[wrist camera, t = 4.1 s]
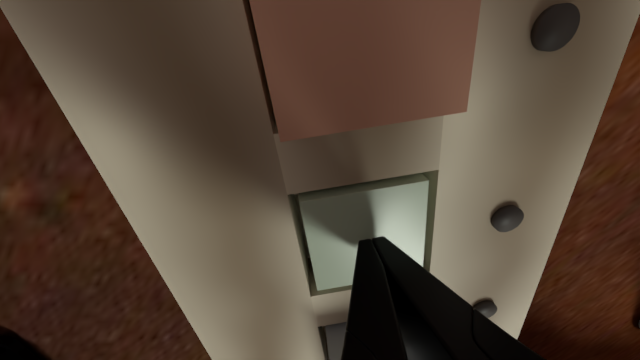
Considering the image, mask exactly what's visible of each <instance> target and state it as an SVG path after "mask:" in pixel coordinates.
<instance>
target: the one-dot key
mask: <svg viewBox="0 0 640 360" xmlns="http://www.w3.org/2000/svg"><path fill="white" fill-rule="evenodd" d="M428 188H429V180H428V179H427V178H426V177H425V176H424V175H423V174H422V173H416V174H410V175H404V176H398V177H392V178H386V179H380V180H374V181H368V182H362V183H356V184H350V185H344V186H338V187H332V188H326V189H320V190H314V191H308V192H302V193H299V205H300V210H301V214H302V219H303V224H304V229H305V234H306V238H307V243H308V248H309V253H310V258H311V262H312V267H313V272H314V277H315V282H316V286H317V291H319V290H325V289H331V288H337V287H342V286H348V285H352V282H353V275H354V269H355V262H356V255H357V248H358V242H359V240H363V239H371V240H372V238H375V237H381V236H384V237H386V238H387V239H388V240H389V241H391V242H392V243H393V244H394V245H396V246H397V247H398V248H399V249H401V250H402V251H403V252H405V253H406V254H407V255H408V256H410V257H411V258H412V259H413V260H415V261H416V262H417V263H418V264H420V265H421V266H422V267H423V260H424V245H425V231H426V216H427V202H428Z"/></svg>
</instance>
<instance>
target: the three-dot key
mask: <svg viewBox="0 0 640 360" xmlns="http://www.w3.org/2000/svg"><path fill="white" fill-rule="evenodd" d="M346 324H347V322H343V323H337V324H331V325H326V326H325V329H326V337H327V345H328V354H329V360H341V355H342V349H343V344H344V337H345V332H346Z"/></svg>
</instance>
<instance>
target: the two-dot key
mask: <svg viewBox="0 0 640 360" xmlns="http://www.w3.org/2000/svg"><path fill="white" fill-rule="evenodd" d="M249 1H250V6H251V10H252V15H253V19H254V24H255V29H256V33H257V38H258V42H259V47H260V51H261V56H262V60H263V65H264V69H265V74H266V79H267V83H268V88H269V92H270V97H271V101H272V106H273V110H274V115H275V120H276V124H277V129H278V133H279V138H280V142H285V141H291V140H297V139H303V138H309V137H316V136H322V135H328V134H334V133H340V132H346V131H352V130H359V129H365V128H371V127H377V126H383V125H389V124H395V123H401V122H408V121H414V120H420V119H426V118H432V117H438V116H444V115H450V114H457V113H463V112H467V107H468V99H469V91H470V83H471V76H472V68H473V60H474V52H475V45H476V37H477V29H478V21H479V14H480V6H481V0H249Z"/></svg>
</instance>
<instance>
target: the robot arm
mask: <svg viewBox="0 0 640 360" xmlns="http://www.w3.org/2000/svg"><path fill="white" fill-rule="evenodd" d="M0 360H40V359H39V358H37V357H36V356H35V355H34V354H33V353H32V352H30V351H29V350H28V349H27V348H26V347H25V346H23V345H22V344H21V343H20V342H19V341H18V340H16V339H15V338H12V337H9V336H0ZM341 360H546V359H544V358H543V357H541V356H540V355H538V354H537V353H535V352H534V351H533V350H531V349H530V348H528V347H527V346H525V345H524V344H522V343H521V342H520V341H518V340H517V339H515V338H514V337H512V336H511V335H510V334H508V333H507V332H505V331H504V330H503V329H501V328H500V327H499V326H498V325H496V324H495V323H494V322H492V321H491V320H490V319H488V318H487V317H486V316H484V315H483V314H482V313H481V312H479V311H478V310H477V309H475V308H474V309H473V306H472V305H470V304H469V303H468V302H467V301H465V300H464V299H463V298H462V297H460V296H459V295H458V294H456V293H455V292H454V291H453V290H451V289H450V288H449V287H448V286H446V285H445V284H444V283H443V282H441V281H440V280H439V279H437V278H436V277H435V276H434V275H432V274H431V273H430V272H429V271H427V270H426V269H425V268H424V267H422V266H421V265H420V264H418V263H417V262H416V261H415V260H413V259H412V258H411V257H410V256H408V255H407V254H406V253H405V252H403V251H402V250H401V249H399V248H398V247H397V246H396V245H394V244H393V243H392V242H391V241H389V240H388V239H387V238H386V237H384V236H381V237H375V238H372V240H371V239H363V240H359V242H358V248H357V255H356V262H355V269H354V275H353V282H352V289H351V296H350V303H349V310H348V317H347V324H346V332H345V337H344V344H343V349H342V355H341Z"/></svg>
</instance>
